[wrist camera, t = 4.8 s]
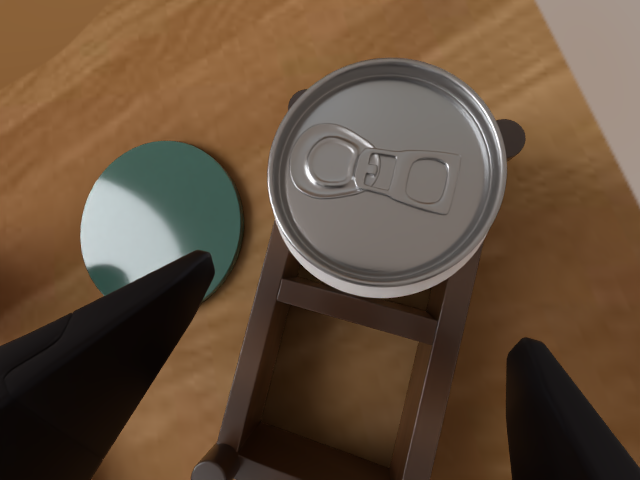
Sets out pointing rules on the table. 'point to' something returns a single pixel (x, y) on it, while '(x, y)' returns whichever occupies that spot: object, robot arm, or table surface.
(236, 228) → the coaster
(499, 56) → the table surface
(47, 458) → the robot arm
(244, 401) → the rack
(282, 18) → the table surface
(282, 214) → the can
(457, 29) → the table surface
